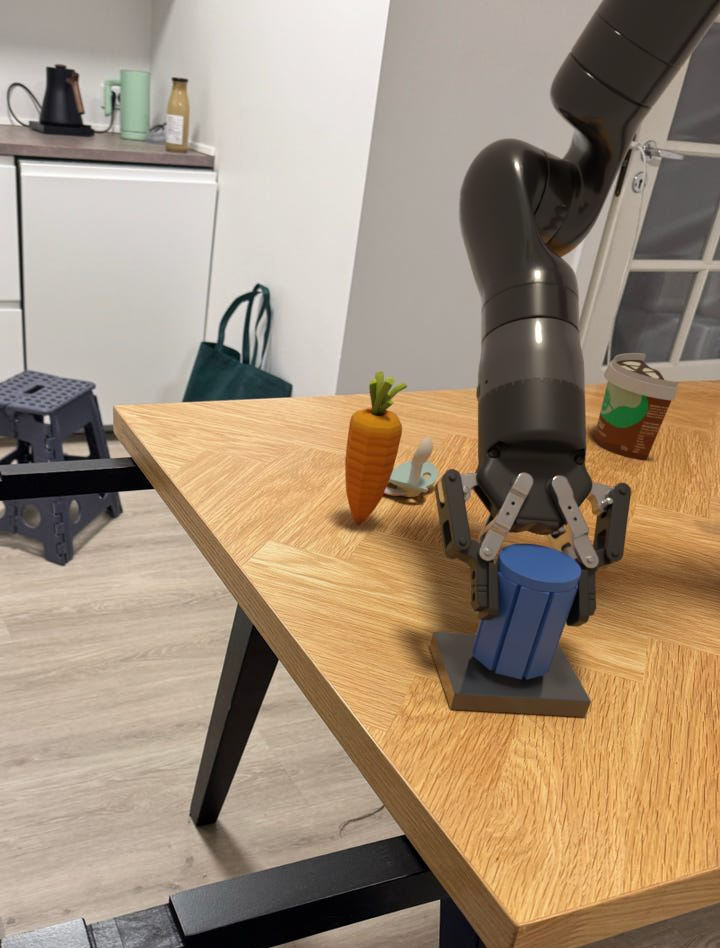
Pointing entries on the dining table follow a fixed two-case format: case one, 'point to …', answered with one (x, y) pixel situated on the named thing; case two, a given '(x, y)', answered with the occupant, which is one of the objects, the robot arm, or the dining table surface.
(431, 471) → the pacifier
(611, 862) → the dining table surface
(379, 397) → the carrot
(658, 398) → the food container
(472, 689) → the peg stand
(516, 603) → the cap
